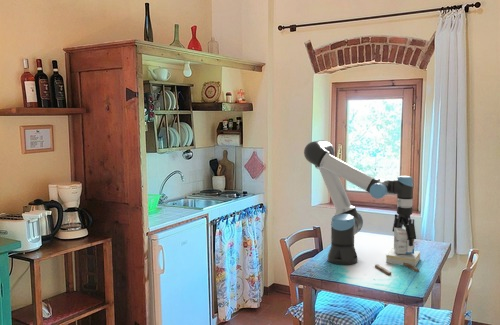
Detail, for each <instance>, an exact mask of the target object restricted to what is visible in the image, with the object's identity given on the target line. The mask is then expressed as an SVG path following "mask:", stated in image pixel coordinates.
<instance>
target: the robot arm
mask: <svg viewBox="0 0 500 325" xmlns="http://www.w3.org/2000/svg"><path fill="white" fill-rule="evenodd" d="M334 153H335V149H334V146H333V144H331V142H329V141H327V140H322V139H321V140H316V141H315V140H314V141H311V142H309V143H307V144H306V146H305V147H304V150H303V155H304V159H306V161H307V162H309V163H310V164H312V165H314V167H315V169H317V170H318V171H320V174H321V178H322V180H323V182H324V184H325V186H326V189H327V191H328V194H329V196H330V199H331V201H332V204H333V207H334V208H335V210H336V211H335V213H334V215H333V216H332V217H331V220H330V225H331V226H330V227H331V228H330V230H331V231H330V234H331V235H330V239H331V241H330V243H331V244H330V245H331V246H330V248H329V251H328V254H327V262H329V263H331V264H333V265H339V266H340V265H342V266H350V265H354V264H357V263H358V255H357V251H356V248H355V235H356V234H358V233H359V232H361V231H360V230H362V228H363V225H364V219H363V216H362V215H361V214H360V213H359V212H358V210H357V208H356V207H355V205H352V204H351V201H350V199H349V197H348V194H347V192H346V189H345V187H344V185H343V181H342V180H341V178H342V179H343V180H345V181H347V182H349V183H350V184H353V185H354V186H356V187H358V188H360V189H361V190H363V191H365V192H367V193H368V194H370V197H372V198H374V199H381V198H384V197H385V196H387V195H396V199H397V200H396V205H397V207H396V214H394V221H393V226H392V229H391V230H392V232H393V233H394V228H405V229H406V232H407V236H408V239H407V252H412V250H413V240H414V241H415V240H417V235H416V233H417V232H416V228H415V227H416V226H415V219H413V218H411V215H413V206H414V205H413V201H414V200H413V199H414V196H413V195H414V193H413V192H414V180H413V179H414V177H412V176H409V175H398V176H397V179H390V178H389V179H387V178H374V177H373V176H372V175H369V174H367V173H365V172H363V171H362V170H360V169H358V168H356V167H354V166H352V165H351V164H348V163H346V162H344V161H343V160H341V159H339V158H337V157H336V156H334Z"/></svg>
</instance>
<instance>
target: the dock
mask: <svg viewBox="0 0 500 325" xmlns="http://www.w3.org/2000/svg"><path fill="white" fill-rule="evenodd" d="M385 255H386V256H385V261H386V263H388V264H394V265H400V266H404V265H403V263H408V264H410V265H412V266H414V267H416V266H417V264H418V263H419V261H420V260H421V251H420V250H419V251H418V250H414V254H397V253H396V251H395V250H394V247H393V248H391V249H390V251H388V252H387V253H386V254H385Z"/></svg>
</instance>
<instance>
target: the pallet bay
mask: <svg viewBox="0 0 500 325" xmlns="http://www.w3.org/2000/svg"><path fill="white" fill-rule="evenodd" d="M402 266H404V267H405V268H408V269H409V270H412V271H413V270H414V272H416V273H420V269H419V268H417V267H416V266H415V267H414V266H412V265H410V264H408V263H403V265H402ZM374 267H375V268H376V269H377V270H379V271H380V272H382V273H384V274H386V275H387V276H391V275H392V272H391V271H390V270H388V269H386V268H384V267H383V266H381V265H380V264H374Z"/></svg>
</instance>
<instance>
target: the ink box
mask: <svg viewBox="0 0 500 325" xmlns="http://www.w3.org/2000/svg"><path fill="white" fill-rule="evenodd" d="M407 239H408V236H407V232H406V229H405V227H402V228H394V232H393V248H394V250H395V251H396V253H397V254H414V251H415V239H414V240H413V250H412V252H407Z"/></svg>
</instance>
